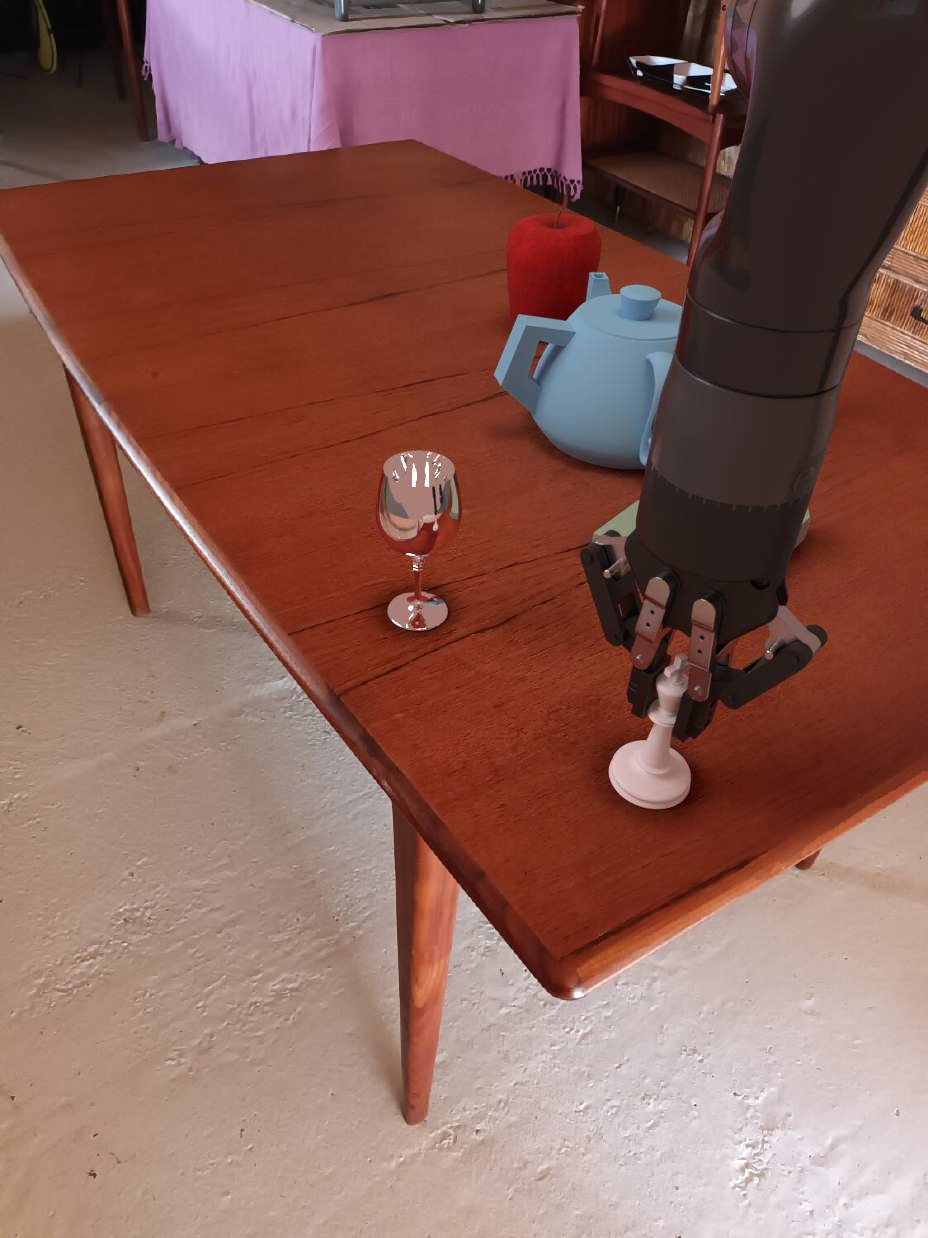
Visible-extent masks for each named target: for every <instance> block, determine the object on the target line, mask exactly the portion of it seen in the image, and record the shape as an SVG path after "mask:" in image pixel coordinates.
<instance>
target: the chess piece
mask: <svg viewBox="0 0 928 1238" xmlns="http://www.w3.org/2000/svg"><path fill="white" fill-rule="evenodd" d="M687 658H688V655H686V654H684V653H683V652H680V653H678V654H675V657H674V661H673V664H670V665H669V666H668V667H666V668H665V671H664V672H662V673H661V674H659V675H658V677H657V679H656V689H657V692H658V699H657V700H655V701H654V702H653V703H652V704H651V705H650V706H649V708H648V710H647V713H648V715H647V717H648V718H649V719H650V721H651V722H653V725H652V728H651V730H650V731H649V734H648V736H647V738H646V739H645V740H644V739H643V740H641V739H640V740H635V741H631V742H628V743H625V744H624V745H622V746H621V747H619V748H618V749H617V750H616V751H615V753H614V755H613V757H612V759H611V761H610V763H609V767H608V777H609V780H610V784H611V785H612V787H613V788H614V790H615V791H616V792H617V793H618V795H620V797H622V798H623V799H624V800H626V801H628V802H629V803H631V804H633V805H635V806H638V807H641V808H645V809H650V810H664V809H669V808H672V807H675V806H677V805H679V804H681V802H683V801H684V800H685V799H686V798H687V796H688V794H689V792H690V789H691V782H692V772H691V768H690V766H689V764H688V763H687V760H686V759H685V758H684V757H683V756H682V755H681V754H680V753H679V751H677V750H675V749H674V748H672V747H671V738H672V732H673V728H674V724H675V721H676V717H677V713H678V709H679V706H680V702H681V698H682V694H683V693H684V692H685V690H686V689H687V685H688V679H689V676H687V674H685V673H684V672H685V671H688V670H690V665H691V664H689V663H688V662H687Z"/></svg>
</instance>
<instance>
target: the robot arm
mask: <svg viewBox="0 0 928 1238" xmlns="http://www.w3.org/2000/svg"><path fill="white" fill-rule="evenodd" d="M723 46H724V47H723V48H724V56H725V60H726V61H725V62H726V65H727V68H728V71H729V74H730V77H731V79H732V81H733V83H734V85H735V86H736V88H737V89H738V91H739V93H740V94H742V96H743V98H744V99H745V100H746V101H747V102H748V108H747V114H746V119H745V125H744V129H743V134H742V138H741V143H740V147H739V150H738V154H737V158H736V162H735V166H734V170H733V174H732V178H731V182H730V186H729V189H728V194H727V198H726V201H725V202H726V203H725V205H724V206H725V207H724V208H723V209H722V210H720V211H719V212H718V213H716V214H715V215H714V216H713V217H712V218H711V219H710V220H709V222H707V224H706V225H705V227H704V228H703V230H702V233H701V236H700V238H699V240H698V243H697V246H696V248H695V251H694V254H693V258H692V261H691V266H690V271H689V275H688V280H687V284H686V288H685V293H684V297H683V298H684V299H683V303H682V307H683V308H682V313H681V318H680V323H679V328H678V333H677V338H676V343H675V349H674V353H673V357H672V361H671V364H670V367H669V370H668V373H667V375H666V378H665V381H664V384H663V387H662V390H661V393H660V398H659V402H658V407H657V412H656V414H655V416H654V418H653V422H652V426H651V432H652V437H651V443H650V448H649V453H648V458H647V464H646V469H644V475H643V479H642V485H641V490H640V495H639V499H640V500H639V499H638V500H639V505H638V510H637V515H636V528H635V529H634V531H633V532H631V533H630V534H629V536H621V535H620V533H618V532H617V531H615V530H608V531H607V532H606V533H604V534H603V535H601V536H599V537H598V538H597V539H595V540H594V541H591V542H590V543H589V544H588V545H587V546H585V547H584V548H582V549H581V551H580V553H579V559H580V561H581V566H582V568H583V572H584V575H585V578H586V581H587V585H588V588H589V590H590V594H591V597H592V600H593V603H594V607H595V610H596V613H597V616H598V619H599V623H600V625H601V629H602V632H603V636H604V638H605V640H606V642H608V644H610V645H611V646H613V647H620V646H622V647H623V648H624V649H625V650H626V651H627V652H628V653H629V661H630V662H631V664H632V666H631V671H630V675H629V679H628V685H627V689H626V698H627V699H626V700H627V702H628V703H630V704H631V705H632V706H631V710H630V714H631V715H633V716H635V718H636V717H637V718H638V719H640V720H641V721H643V720H644V719H646V717H648V713H647V710H648V708H649V706H650V705H651V704H652V703H653V702H654V701H655V700H657V699H658V692H657V689H656V679H657V677H658V675H659V674H661V673H662V672H664V671H665V668H666V667H668V666H670V665H671V660H672V657H673V656H672V655H671V654H669V653H668V649H669V648H670V647H671V646H672V643H673V642H674V641H673V640H674V638H675V635H676V633H677V631H679V632H681V633H682V634H684V635H685V636H686V637H688V638H689V645H688V652H687V657H688V658H687V662H688V663H689V664H691V665H690V668H689V674H688V678H689V679H688V685H687V689H686V690H685V692H684V693H683V694H682V698H681V702H680V706H679V709H678V713H677V717H676V721H675V724H674V728H672V732H671V738H672V739H675V740H676V741H678V742H680V743H681V744H685V743H686V742H687V740H688V739H689V738H690V739H692V740H696V739H697V738H698V737H699V736H700V735H702V733H703V732H704V731H706V729H707V728H708V726H709V725H710V724H711V723H712V722H713V720H714V716H715V713H716V708H717V706H718V703H719V701H721V703H722V705H724V706H725V707H726V708H728V709H730V710H738V709H740V708H742V707H744V706H745V705H747V704H748V703H750V702H752V701H753V700H755V699H757V698H758V697H760V696H762V695H763V694H765V693H767V692H769V691H770V690H772V689H773V688H775V687H777V686H778V685H780V684H781V683H783V682H785V681H787V680H788V679H789V678H791V677H793V676H795V675H796V674H798V673H799V672H801V671H802V670H804V669H805V668H806V667H807V666H808V664H809V663H810V662H811V661H812V660H813V659H814V657H816V655H818V653H819V652H820V651H821V649H822V648H823V647H824V646H825V645H826V643H827V642H828V639H829V637H828V634H827V632H826V630H825V629H824V628H823V627H822V626H820V625H819V624H808V625H806V626H804V624H803V623H802V622H801V621H800V620H799V619H798V618H797V617H796V616H795V614H794V613H792V611H791V610H790V609H789V608H788V607H787V605H788V601H789V590H788V586H787V581H786V580H787V579H786V577H787V576H786V575H787V570H788V567H789V565H790V563H791V560H792V556H793V552H794V550H795V549H794V547H795V544H796V541H797V538H798V535H799V532H800V529H801V526H802V523H803V520H804V517H805V514H806V511H807V508H809V505H810V502H811V498H812V495H813V493H814V489H815V487H816V483H817V480H818V478H819V475H820V472H821V469H822V465H823V463H824V460H825V457H826V453H827V450H828V447H829V444H830V441H831V438H832V434H833V432H834V428H835V423H836V419H837V413H838V406H839V400H840V394H841V391H842V390H841V389H842V386H843V382H844V380H845V379H844V378H845V375H846V373H847V369H848V367H849V363H850V360H851V357H852V355H853V351H854V348H855V345H856V342H857V339H858V335H859V333H860V330H861V327H862V324H863V320H864V317H865V315H866V311H867V308H868V304H869V301H870V297H871V293H872V289H873V286H874V282H875V279H876V276H877V274H878V272H879V270H880V268H881V267H882V265H883V263H884V262H885V260H886V259H887V257H888V256H889V255H890V253H891V252H892V249H893V248H894V247H895V245H896V243H897V242H898V241H899V239H900V237H901V236H902V235H903V233H904V230H905V229H906V227H907V225H908V223H909V221H910V220H911V218H912V216H913V214H914V213H915V211H916V210H917V209H916V208H917V207H918V206H919V204H920V202H921V200H922V198H923V196H924V194H925V192H926V191H927V189H928V0H728V1H727V4H726V8H725V15H724V21H723ZM640 594H641V596H640ZM641 597H642V599H643V602H642V599H641ZM764 626H766V627H767V629H768V636H767V638H766V639H765V640H764V642H763V650H764V653H763V654H762V655H761V656H759V657H757V658H756V659H754V660H753V661H752V662H749V664H747V665H745V666H744V667H743V668H742V669H740V668H735V667H732V662H733V657H734V652H735V648H736V646H737V645H738V643H739V641H740V639H741V637H743V636H745V635H747V634H749V633H752V632H754V631H755V630H757V629H759V628H761V627H764Z"/></svg>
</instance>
